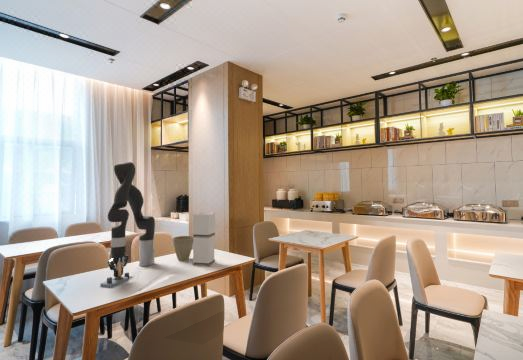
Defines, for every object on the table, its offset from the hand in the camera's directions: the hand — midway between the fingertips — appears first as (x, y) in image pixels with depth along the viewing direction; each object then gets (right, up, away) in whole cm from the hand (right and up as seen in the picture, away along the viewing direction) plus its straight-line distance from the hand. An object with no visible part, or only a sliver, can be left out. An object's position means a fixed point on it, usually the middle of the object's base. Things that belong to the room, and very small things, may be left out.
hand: (118, 275), depth 161 cm
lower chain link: (+1, -5, +3) cm, 5 cm away
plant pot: (+23, -5, +51) cm, 56 cm away
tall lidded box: (+40, -5, +40) cm, 57 cm away
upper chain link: (-1, -5, -3) cm, 5 cm away
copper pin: (0, -4, 0) cm, 4 cm away
